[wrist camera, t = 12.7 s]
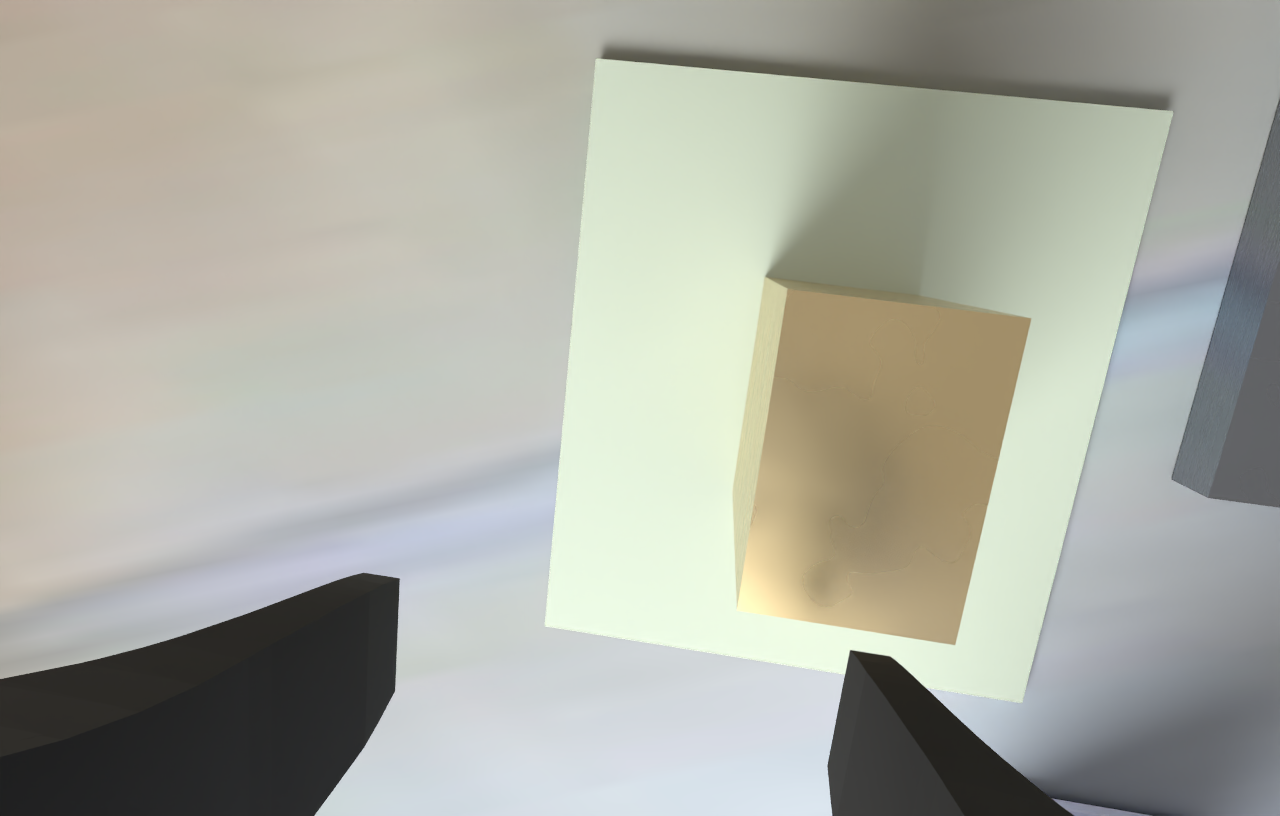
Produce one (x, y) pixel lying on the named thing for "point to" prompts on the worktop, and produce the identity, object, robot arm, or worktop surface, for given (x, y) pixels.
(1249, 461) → the iron frame
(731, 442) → the sage mat
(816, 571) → the tan rectangular block
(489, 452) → the worktop surface
